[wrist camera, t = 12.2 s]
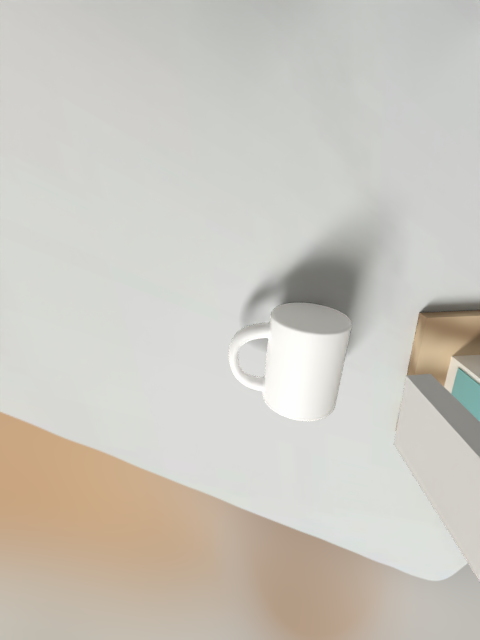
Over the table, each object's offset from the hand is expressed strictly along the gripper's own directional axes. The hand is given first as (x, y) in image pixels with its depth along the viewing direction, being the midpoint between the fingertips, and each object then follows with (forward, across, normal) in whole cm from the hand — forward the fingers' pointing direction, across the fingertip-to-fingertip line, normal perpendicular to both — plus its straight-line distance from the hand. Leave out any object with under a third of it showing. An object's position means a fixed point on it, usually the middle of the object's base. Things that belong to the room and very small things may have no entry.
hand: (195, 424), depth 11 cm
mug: (+27, +7, -11) cm, 30 cm away
